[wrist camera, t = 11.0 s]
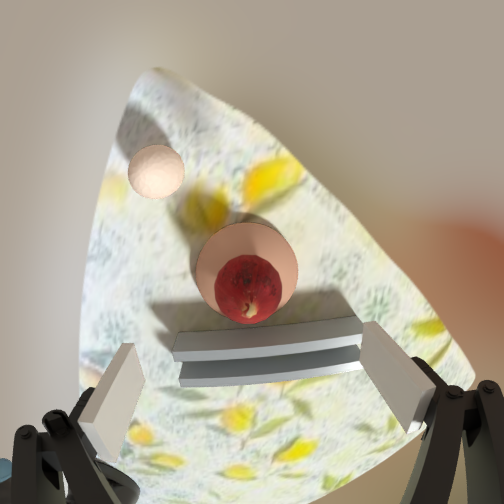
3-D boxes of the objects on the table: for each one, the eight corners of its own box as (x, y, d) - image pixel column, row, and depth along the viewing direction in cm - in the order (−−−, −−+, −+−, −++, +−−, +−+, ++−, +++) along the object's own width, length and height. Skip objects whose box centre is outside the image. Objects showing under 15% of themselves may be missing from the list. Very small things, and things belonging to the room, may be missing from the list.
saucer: (203, 319, 31) (202, 324, 30) (191, 226, 28) (190, 228, 27) (296, 312, 31) (298, 316, 30) (294, 218, 28) (296, 220, 27)
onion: (216, 246, 28) (208, 272, 20) (277, 245, 28) (292, 272, 20) (217, 302, 29) (212, 345, 21) (275, 302, 29) (288, 344, 22)
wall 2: (180, 341, 31) (174, 361, 27) (178, 332, 31) (171, 351, 27) (355, 324, 32) (368, 341, 28) (356, 315, 32) (370, 332, 28)
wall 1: (185, 366, 32) (180, 387, 28) (184, 358, 32) (178, 378, 28) (353, 349, 33) (364, 367, 29) (354, 341, 32) (366, 359, 29)
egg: (149, 201, 27) (122, 210, 20) (139, 156, 26) (108, 151, 19) (194, 189, 27) (180, 193, 20) (184, 142, 26) (166, 131, 19)
